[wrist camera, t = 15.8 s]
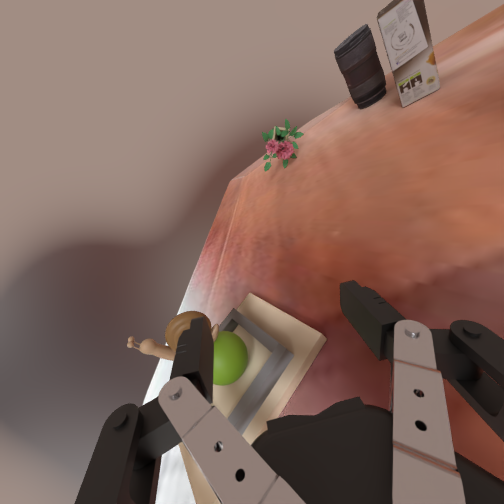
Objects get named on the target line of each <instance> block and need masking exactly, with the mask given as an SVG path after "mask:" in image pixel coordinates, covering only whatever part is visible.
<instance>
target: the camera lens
mask: <svg viewBox="0 0 504 504" xmlns="http://www.w3.org/2000/svg"><path fill="white" fill-rule="evenodd" d="M334 53H335V58H336V61H337V64H338V66H339V69H340V71H341V73H342V74H343V76H344V78H345V80H346V83H347V86H348V89H349V92H350V94H351V97H352V99H353V100H354V103H355V104H357V105H358V108H359V109H362V108H365V107H368V106H370V105H372V104H373V103H375V102H377V101H378V100H379V99H381V98H382V97H383V96H384V95H385V94H386V88H385V86H386V81H385V75H384V72H383V69H382V67H381V64H380V61H379V58H378V55H377V52H376V46H375V42H374V39H373V36H372V33H371V30H370V28H369V27H368V25H367V24H365V25H364V26H362V27H361V28H359V29H358V30H356V31H355V32H354V33H353V34H352V35H350V36H349V37H348V38H347V39H346V40H344V41H343V42H342V43H341V44H340V45H339V46H338V47H337V48H336V49H335V50H334Z"/></svg>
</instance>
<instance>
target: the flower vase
mask: <svg viewBox="0 0 504 504" xmlns="http://www.w3.org/2000/svg"><path fill="white" fill-rule="evenodd" d="M289 128H290V124H289V122H288V120H287V119H286V120H285V128H280V127H277V126H276V127H274V129H272V130H270V131H269V133H268V135H267V134H266V133H263V132H262V135H263V139H264V141H265V142H266V141H268V138H270V139H272V141H270V140H269V141H270V142H268V145H266V149H268V150H267V152H268V153H270V152H271V151H272V153H274V154H273V156H272V158H276V157H278V159H281V158H283V166H284V168H286V166H287V164H288V159H289V158H290V157H291V158H297V157H296V155H295V154H294V151H293V149H298V146H297V144H296V143H295V142H292V144H289V143H290V142H287V140H289V139H288V134H289ZM296 128H297V126H296V127H295V128H294V129H293V130H292V131H291V133H290V135H289V136H293V135H294V136H293V137H295V139H296V138H299V137H301V136H302V135H303V133H301V132H296ZM295 132H296V133H295ZM290 138H291V137H290ZM289 141H290V140H289ZM272 153H271V154H270V155H272ZM268 158H270V157H269V156H268V155H267V154H266V155H265V156H264V159H263V160H266V159H268ZM270 161H271V159H270ZM270 167H271V163H270V162H267V163H266V165H265V167H264V168H265V171H267V170H269V168H270Z"/></svg>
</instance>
